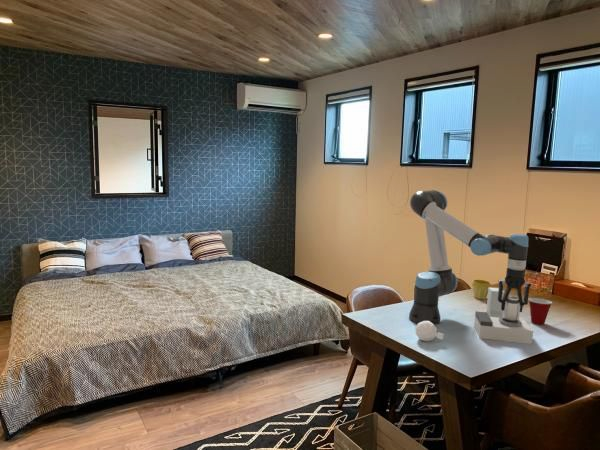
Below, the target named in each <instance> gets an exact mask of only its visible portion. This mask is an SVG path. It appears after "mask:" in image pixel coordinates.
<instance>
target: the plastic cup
mask: <svg viewBox="0 0 600 450" xmlns="http://www.w3.org/2000/svg"><path fill="white" fill-rule="evenodd" d="M528 303H529V309H530V310H529V313H530V321H531V323H532V324H534V325H539V326H542V325H545V323H546V319H547V317H548V314H549V311H550V308H551V305H552V304H553V301H551V300H547V299H543V298H534V297H533V298H531V297H528Z"/></svg>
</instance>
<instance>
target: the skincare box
mask: <svg viewBox="0 0 600 450" xmlns="http://www.w3.org/2000/svg"><path fill="white" fill-rule="evenodd" d="M498 291H499V287H491V288H488V294H487V300H486V301H487V303H486V312H487V314H488V315H489V317H497V318H501V317H503V310H501V304H502V303H501V302H499V301H498ZM504 293H505V291H504V290H503V292H502V298H503V296H504Z"/></svg>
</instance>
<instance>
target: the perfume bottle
mask: <svg viewBox="0 0 600 450" xmlns="http://www.w3.org/2000/svg"><path fill="white" fill-rule="evenodd" d="M415 335H416V336H417V339H420V340H421V341H422V342H431V341H433V340H434V339H435V338H436V339H440V340H444V335H445V333H441V332H437V327H436V326H435V325H434V324H433V323H431V322H430V321H422V322H420V323H417V324H416V326H415Z"/></svg>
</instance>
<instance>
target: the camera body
mask: <svg viewBox="0 0 600 450" xmlns="http://www.w3.org/2000/svg"><path fill="white" fill-rule="evenodd" d="M473 325H474V326H473V328H474V331H475V333H476V334H477V336H479V337H478V338H479V339H482V340H483V339H485V340H494V341H501V342H502V341H503V342H510V343H511V342H512V343H519V344H521V343H522V344H529V345H530V344H531V345H532V343H533V336H534V329H532V327H531V326H530V325H529V324H528V323H527V321H526V320H523V319H519V320H518V319H517V320H508V319H505V318H503V317H501V318H497V317H489V315H488V314H487V311H486V312H485V311H477V310H476V311H475V315H474V324H473Z"/></svg>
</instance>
